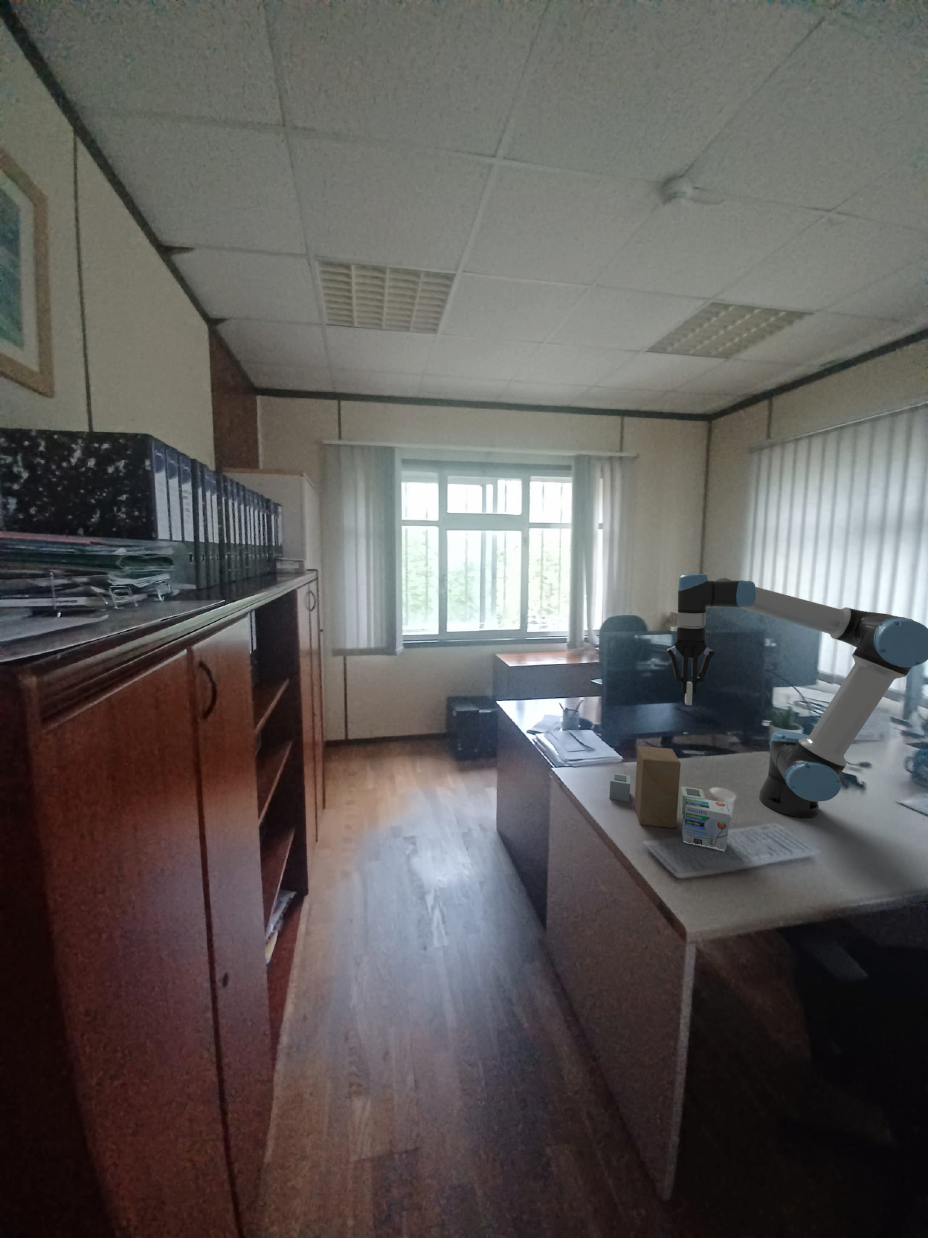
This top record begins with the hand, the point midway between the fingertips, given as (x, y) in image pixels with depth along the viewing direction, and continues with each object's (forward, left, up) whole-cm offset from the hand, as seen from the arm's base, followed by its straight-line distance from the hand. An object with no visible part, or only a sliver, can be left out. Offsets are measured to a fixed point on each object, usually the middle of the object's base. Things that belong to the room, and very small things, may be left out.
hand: (688, 703), depth 139 cm
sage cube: (-3, +2, -33) cm, 33 cm away
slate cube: (+18, 0, -33) cm, 38 cm away
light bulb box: (-4, +18, -33) cm, 38 cm away
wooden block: (+8, +10, -33) cm, 36 cm away
